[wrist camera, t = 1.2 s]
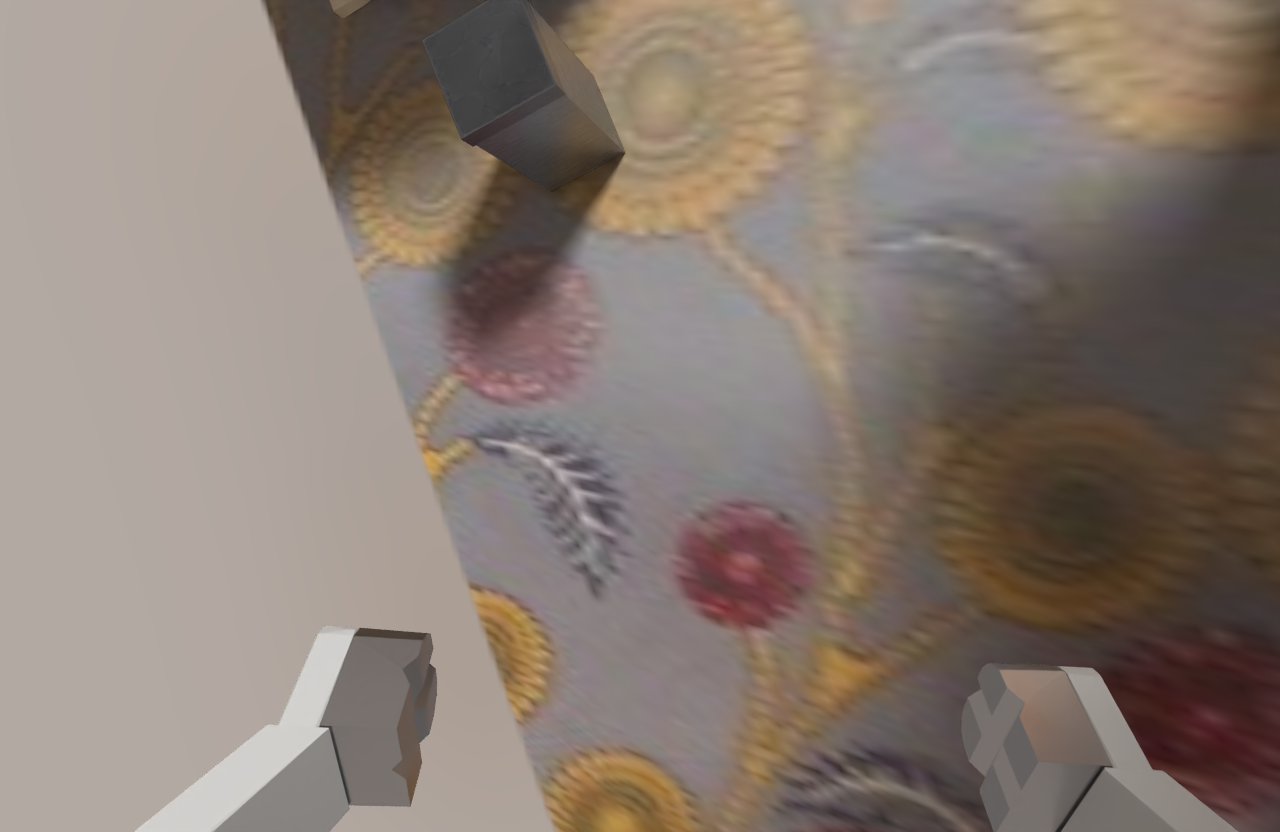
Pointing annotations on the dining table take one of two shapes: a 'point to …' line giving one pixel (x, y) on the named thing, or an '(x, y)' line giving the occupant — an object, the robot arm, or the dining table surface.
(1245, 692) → the dining table surface
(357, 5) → the wooden cubby shelf
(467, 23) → the tea tin
